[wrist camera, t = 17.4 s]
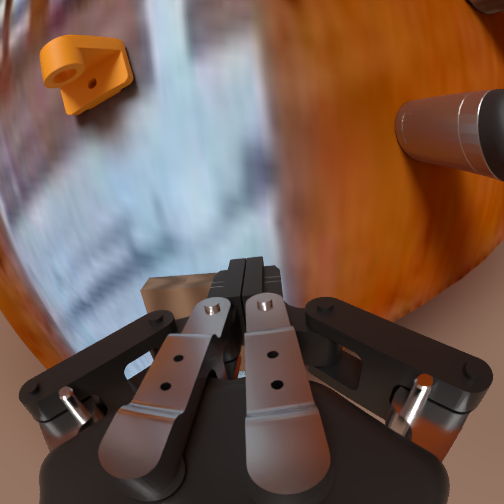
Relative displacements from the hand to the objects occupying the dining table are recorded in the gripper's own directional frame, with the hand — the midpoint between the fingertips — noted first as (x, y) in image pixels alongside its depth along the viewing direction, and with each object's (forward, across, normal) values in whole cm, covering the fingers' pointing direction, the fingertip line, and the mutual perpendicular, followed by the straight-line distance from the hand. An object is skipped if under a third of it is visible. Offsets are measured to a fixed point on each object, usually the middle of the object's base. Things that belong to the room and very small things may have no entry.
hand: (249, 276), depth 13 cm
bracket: (+24, +20, -20) cm, 37 cm away
